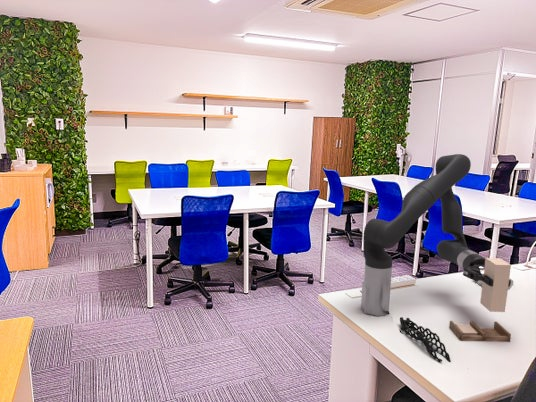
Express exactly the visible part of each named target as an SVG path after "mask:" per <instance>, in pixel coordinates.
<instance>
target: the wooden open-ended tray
mask: <svg viewBox="0 0 536 402" xmlns="http://www.w3.org/2000/svg"><path fill="white" fill-rule="evenodd" d="M455 324H456V323H455V322H454V321H453V320H449V325H448V329H450V331H451V332H452V333H453V334H454V335H455V336H456V337H457V339H458V340H459V341H461V342H462V341H464V342H502V343H503V342H505V343H507V342H508V343H509V342H511V338H512V337H511V336H512V334H511V333H510V332H509V331H508V330H507V329H506V328H505V327H503V326H502V325H501V324H500V323H499V322H498V321H494V323H493V328H492V327H491V328H490V327H487V328H485V327H484V328H482V327H480V326H479V325H478V324H477V323H476V322H475V321H473V320H470V321H469V325H470V326H471V327H472V328H473V329H474V330H475V331H476V332H477V333H478V335H463V332H462V331H461V330H460V329H459V328H458V327H457V326H456V325H455Z"/></svg>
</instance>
